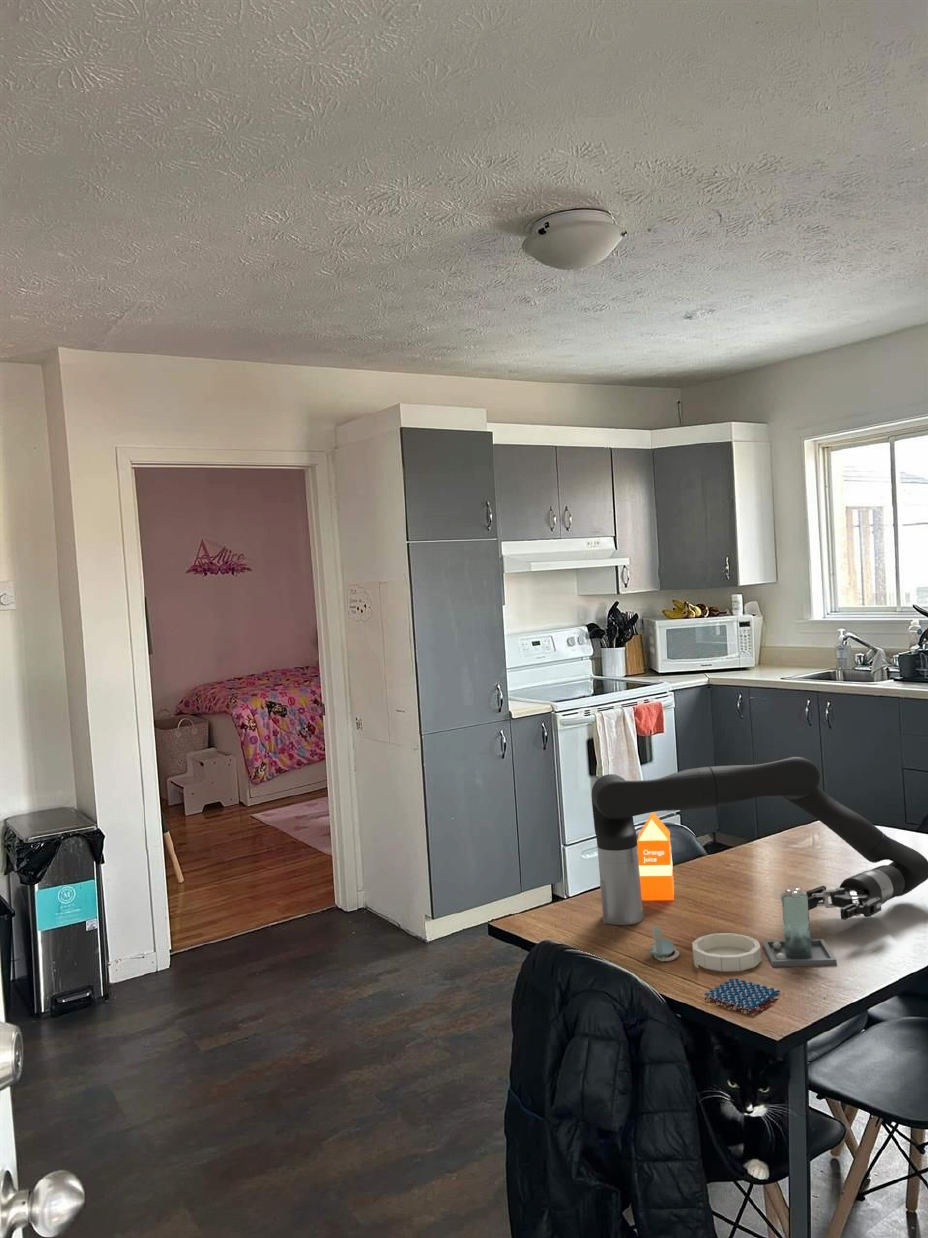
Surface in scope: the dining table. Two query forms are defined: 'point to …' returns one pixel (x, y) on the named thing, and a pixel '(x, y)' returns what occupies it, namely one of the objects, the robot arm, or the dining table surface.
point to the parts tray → (779, 959)
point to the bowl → (726, 952)
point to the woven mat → (743, 996)
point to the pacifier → (662, 946)
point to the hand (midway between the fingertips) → (823, 910)
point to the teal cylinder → (796, 924)
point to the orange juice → (655, 860)
